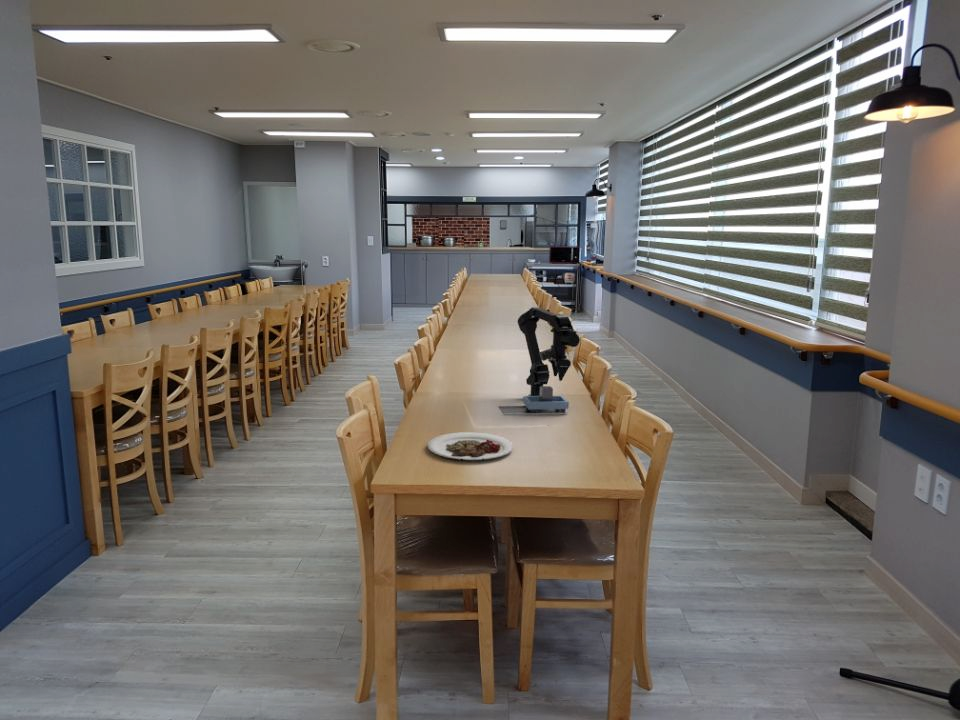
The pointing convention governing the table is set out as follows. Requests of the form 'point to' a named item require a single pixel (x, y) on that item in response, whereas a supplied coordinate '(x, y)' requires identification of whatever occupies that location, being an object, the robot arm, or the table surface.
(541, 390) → the steel block
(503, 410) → the track
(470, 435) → the plated food
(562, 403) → the cart
